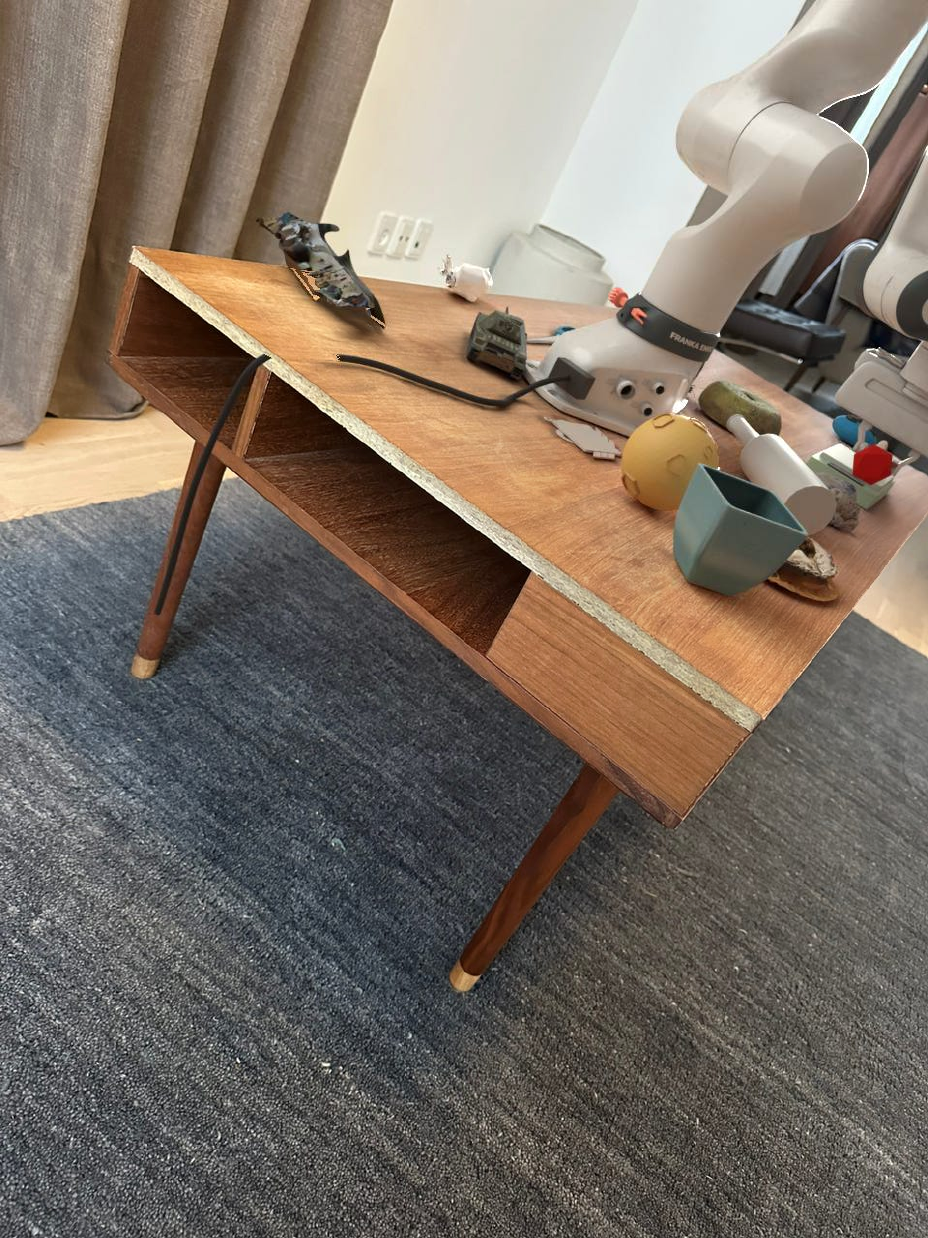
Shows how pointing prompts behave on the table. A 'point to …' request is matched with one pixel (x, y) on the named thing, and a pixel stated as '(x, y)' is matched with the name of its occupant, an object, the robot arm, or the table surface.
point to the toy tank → (499, 342)
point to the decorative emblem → (586, 438)
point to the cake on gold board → (809, 572)
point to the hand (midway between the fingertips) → (873, 463)
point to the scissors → (553, 338)
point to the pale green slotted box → (849, 474)
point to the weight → (740, 407)
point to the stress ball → (666, 459)
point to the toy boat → (321, 263)
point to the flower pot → (732, 532)
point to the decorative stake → (873, 463)
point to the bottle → (783, 475)
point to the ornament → (852, 430)
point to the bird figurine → (466, 279)
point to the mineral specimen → (842, 501)
